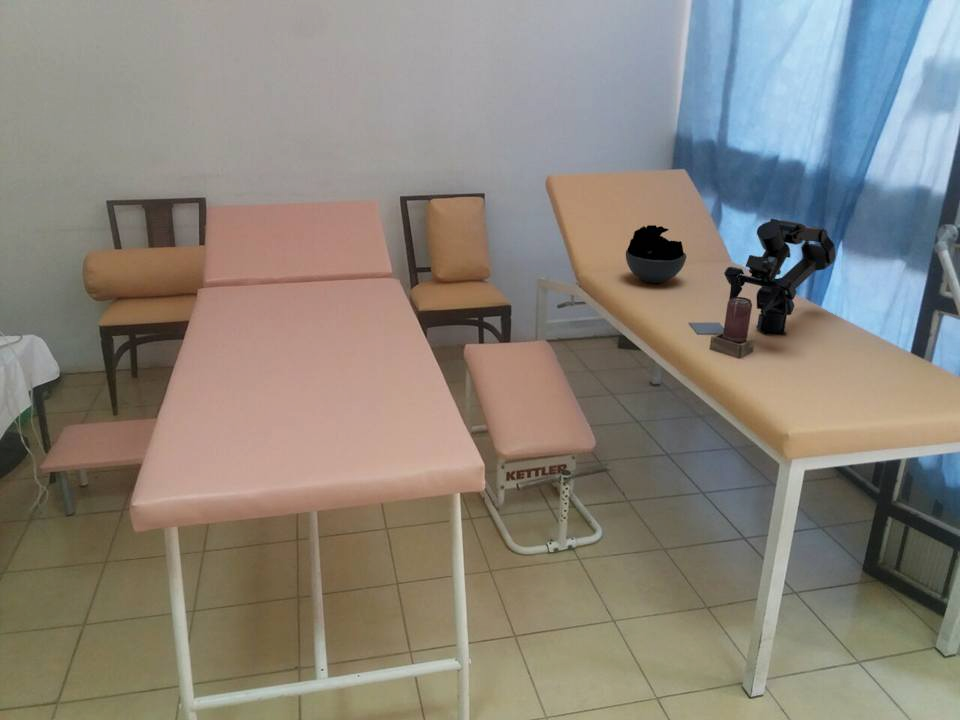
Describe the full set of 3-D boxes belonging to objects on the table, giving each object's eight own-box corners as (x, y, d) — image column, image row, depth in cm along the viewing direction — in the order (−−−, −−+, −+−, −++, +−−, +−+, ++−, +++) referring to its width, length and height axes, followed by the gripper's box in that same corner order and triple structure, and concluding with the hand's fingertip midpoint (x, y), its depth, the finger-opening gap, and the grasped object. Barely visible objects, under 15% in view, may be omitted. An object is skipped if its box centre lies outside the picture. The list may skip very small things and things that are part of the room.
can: (718, 351, 208) (726, 301, 202) (723, 343, 213) (730, 294, 207) (742, 355, 205) (750, 305, 200) (746, 347, 210) (754, 298, 205)
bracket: (723, 342, 213) (724, 330, 212) (752, 351, 208) (754, 339, 206) (709, 348, 209) (711, 336, 208) (739, 358, 203) (741, 345, 202)
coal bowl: (648, 270, 279) (653, 218, 271) (695, 283, 264) (702, 228, 257) (611, 280, 267) (615, 225, 260) (657, 294, 253) (663, 237, 245)
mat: (718, 323, 228) (718, 322, 228) (729, 334, 219) (729, 333, 219) (688, 323, 227) (688, 322, 227) (697, 334, 219) (697, 333, 219)
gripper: (732, 237, 210) (705, 284, 207) (799, 250, 198) (771, 301, 195) (743, 260, 218) (717, 306, 215) (807, 274, 206) (780, 323, 203)
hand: (745, 308), depth 207 cm, fingers open, 9 cm apart
